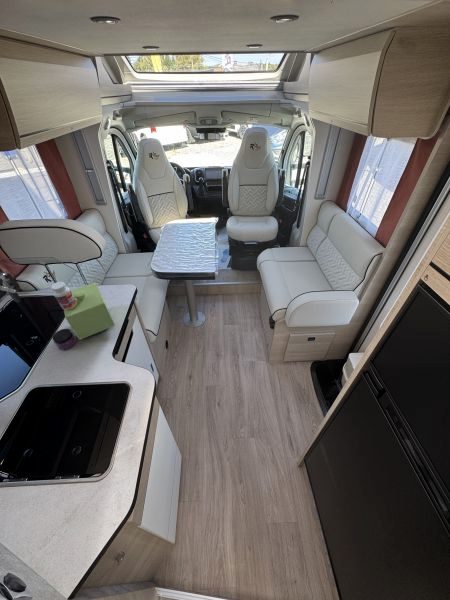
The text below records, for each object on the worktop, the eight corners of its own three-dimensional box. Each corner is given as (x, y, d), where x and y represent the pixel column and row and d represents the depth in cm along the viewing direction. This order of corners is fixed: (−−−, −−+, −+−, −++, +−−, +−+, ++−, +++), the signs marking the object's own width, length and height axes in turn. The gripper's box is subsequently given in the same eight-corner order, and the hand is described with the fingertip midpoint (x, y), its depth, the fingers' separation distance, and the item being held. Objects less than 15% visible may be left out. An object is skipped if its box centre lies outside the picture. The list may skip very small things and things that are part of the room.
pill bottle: (75, 308, 110) (64, 288, 103) (60, 311, 109) (47, 291, 102) (78, 299, 115) (67, 279, 107) (63, 302, 114) (51, 282, 106)
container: (74, 319, 131) (56, 289, 117) (107, 307, 137) (93, 277, 124) (81, 343, 118) (62, 312, 105) (116, 328, 125) (102, 298, 111)
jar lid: (49, 341, 114) (48, 339, 113) (62, 329, 119) (61, 327, 118) (63, 345, 112) (62, 343, 111) (76, 332, 117) (74, 330, 116)
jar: (54, 348, 117) (48, 340, 113) (67, 335, 122) (62, 327, 119) (68, 352, 115) (62, 344, 111) (80, 338, 120) (75, 331, 117)
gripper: (-13, 254, 79) (17, 294, 89) (-64, 281, 69) (-24, 322, 79) (5, 258, 77) (33, 298, 88) (-45, 286, 67) (-6, 327, 77)
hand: (6, 309), depth 83 cm, fingers open, 8 cm apart
